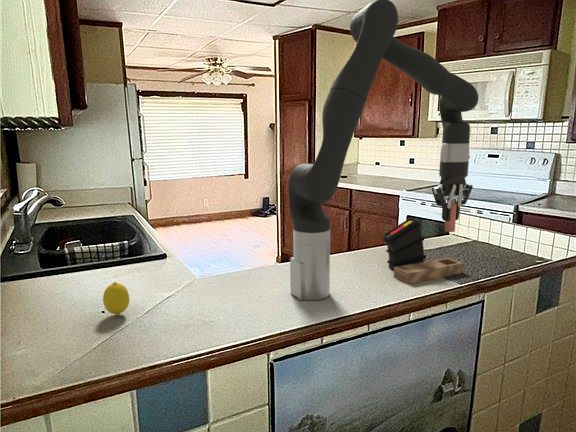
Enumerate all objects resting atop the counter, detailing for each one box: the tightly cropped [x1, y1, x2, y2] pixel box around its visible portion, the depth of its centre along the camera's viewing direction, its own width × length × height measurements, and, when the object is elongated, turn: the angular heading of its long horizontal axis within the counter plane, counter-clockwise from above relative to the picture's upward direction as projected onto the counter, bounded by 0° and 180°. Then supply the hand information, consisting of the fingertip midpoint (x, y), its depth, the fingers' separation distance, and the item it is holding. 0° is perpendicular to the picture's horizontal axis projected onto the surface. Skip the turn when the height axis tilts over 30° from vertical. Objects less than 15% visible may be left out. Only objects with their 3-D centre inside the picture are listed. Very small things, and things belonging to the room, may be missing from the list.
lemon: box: [102, 281, 130, 316], centre depth 96 cm, size 6×6×8 cm
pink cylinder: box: [444, 200, 457, 233], centre depth 121 cm, size 3×3×9 cm
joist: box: [393, 257, 465, 285], centre depth 122 cm, size 20×6×3 cm, turn 115°
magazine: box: [382, 217, 427, 271], centre depth 128 cm, size 4×13×15 cm, turn 111°
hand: (450, 219), depth 122 cm, fingers closed on pink cylinder, 2 cm apart
